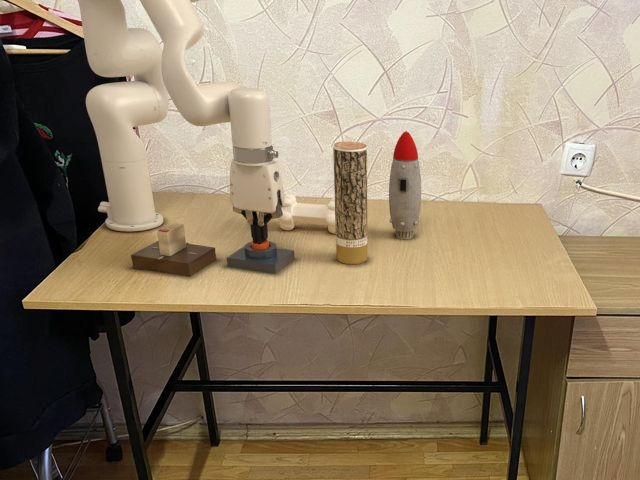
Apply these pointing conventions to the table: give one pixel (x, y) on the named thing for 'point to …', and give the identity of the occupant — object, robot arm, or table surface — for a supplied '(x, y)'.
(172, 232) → the beige block
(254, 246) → the button
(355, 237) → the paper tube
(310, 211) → the dog bone
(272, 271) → the button box
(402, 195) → the toy rocket
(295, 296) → the table surface
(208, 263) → the panel
